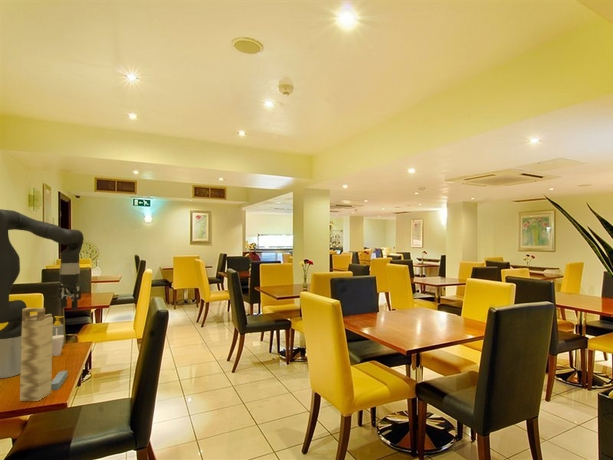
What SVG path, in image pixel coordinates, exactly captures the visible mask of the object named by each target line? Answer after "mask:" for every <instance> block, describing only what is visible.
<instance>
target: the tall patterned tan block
mask: <svg viewBox="0 0 613 460" xmlns="http://www.w3.org/2000/svg"><path fill="white" fill-rule="evenodd" d="M31 313H34V314H31ZM53 325H54V317H53V314H52V313H48V314H46V308H45V307H27V308H25V309H22V339H21V373H20V375H19V377H20V378H19V380H20V381H19V382H20V385H19V402H20V401H39V400H40V401H42V400H43V399H42V398H44V397H45V396H47V395H48V396H49V394H50V395H51V394H52V391H51V382H52V376H53V375H52V371H53V368H52V367H53V365H52V364H53V356H52V334H53ZM48 396H47V397H48ZM45 398H46V397H45ZM45 398H44V399H45ZM41 399H42V400H41ZM40 401H39V402H40Z"/></svg>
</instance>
